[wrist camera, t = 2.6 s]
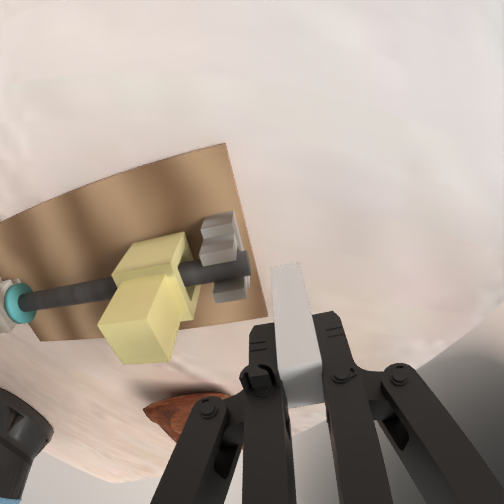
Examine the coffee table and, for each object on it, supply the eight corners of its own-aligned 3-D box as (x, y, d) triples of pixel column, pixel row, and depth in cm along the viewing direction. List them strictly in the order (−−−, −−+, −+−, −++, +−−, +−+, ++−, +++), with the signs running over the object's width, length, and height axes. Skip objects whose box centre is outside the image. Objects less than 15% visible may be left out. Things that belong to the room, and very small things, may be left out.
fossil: (126, 406, 28) (164, 480, 21) (165, 353, 28) (216, 425, 21) (204, 421, 36) (246, 475, 29) (240, 378, 37) (290, 429, 30)
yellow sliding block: (153, 290, 23) (120, 371, 16) (133, 243, 21) (84, 316, 14) (201, 282, 22) (182, 368, 15) (184, 231, 20) (150, 308, 13)
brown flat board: (42, 338, 28) (23, 370, 23) (-17, 231, 22) (-49, 256, 17) (267, 311, 25) (270, 358, 21) (225, 143, 19) (216, 158, 14)
